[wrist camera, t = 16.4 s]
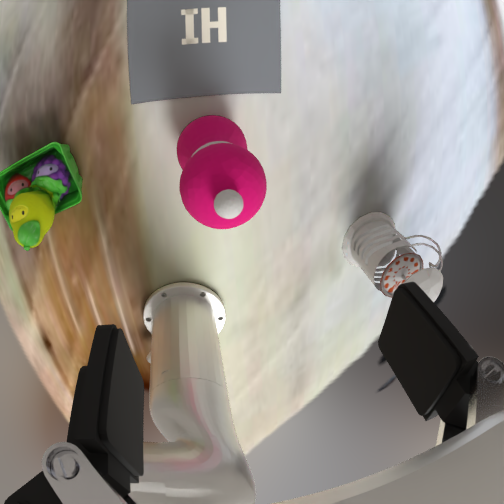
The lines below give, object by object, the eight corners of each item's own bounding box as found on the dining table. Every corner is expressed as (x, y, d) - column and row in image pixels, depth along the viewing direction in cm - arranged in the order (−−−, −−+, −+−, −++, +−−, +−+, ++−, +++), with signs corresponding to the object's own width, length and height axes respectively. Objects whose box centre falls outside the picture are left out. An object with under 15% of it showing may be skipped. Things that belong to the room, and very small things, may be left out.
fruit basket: (73, 129, 30) (32, 153, 21) (99, 194, 35) (71, 238, 26) (6, 167, 30) (-41, 201, 21) (32, 223, 35) (-4, 271, 26)
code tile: (278, -35, 24) (279, -36, 24) (280, 93, 33) (281, 93, 33) (128, -29, 22) (127, -29, 22) (131, 104, 31) (131, 104, 30)
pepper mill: (198, 181, 37) (210, 281, 20) (166, 132, 33) (142, 194, 17) (251, 151, 36) (309, 226, 20) (221, 99, 32) (256, 124, 16)
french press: (332, 235, 45) (429, 367, 24) (394, 193, 43) (516, 295, 22) (354, 277, 50) (435, 398, 29) (409, 239, 48) (507, 340, 27)
